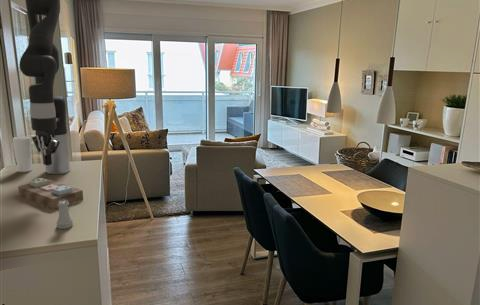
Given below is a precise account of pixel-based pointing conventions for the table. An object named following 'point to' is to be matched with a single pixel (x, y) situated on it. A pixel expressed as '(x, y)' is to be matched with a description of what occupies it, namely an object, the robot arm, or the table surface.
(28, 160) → the drinking glass
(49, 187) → the one-pip button
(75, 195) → the button panel
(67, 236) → the table surface
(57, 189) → the two-pip button
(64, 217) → the rook chess piece
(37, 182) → the three-pip button
